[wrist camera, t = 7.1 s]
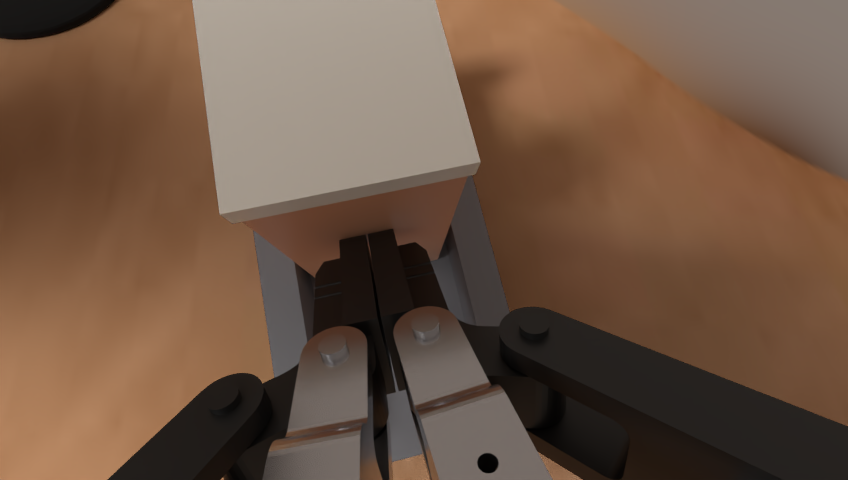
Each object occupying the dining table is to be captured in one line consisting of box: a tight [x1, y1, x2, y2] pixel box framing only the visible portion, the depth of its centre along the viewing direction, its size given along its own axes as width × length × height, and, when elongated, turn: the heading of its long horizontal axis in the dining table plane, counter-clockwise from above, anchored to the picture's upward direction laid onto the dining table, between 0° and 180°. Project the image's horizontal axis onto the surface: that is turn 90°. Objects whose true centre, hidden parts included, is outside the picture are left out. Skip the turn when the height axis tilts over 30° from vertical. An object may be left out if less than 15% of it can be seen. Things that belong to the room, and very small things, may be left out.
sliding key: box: [192, 0, 481, 277], centre depth 13 cm, size 5×5×10 cm
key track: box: [253, 175, 510, 462], centre depth 16 cm, size 16×8×6 cm, turn 13°
